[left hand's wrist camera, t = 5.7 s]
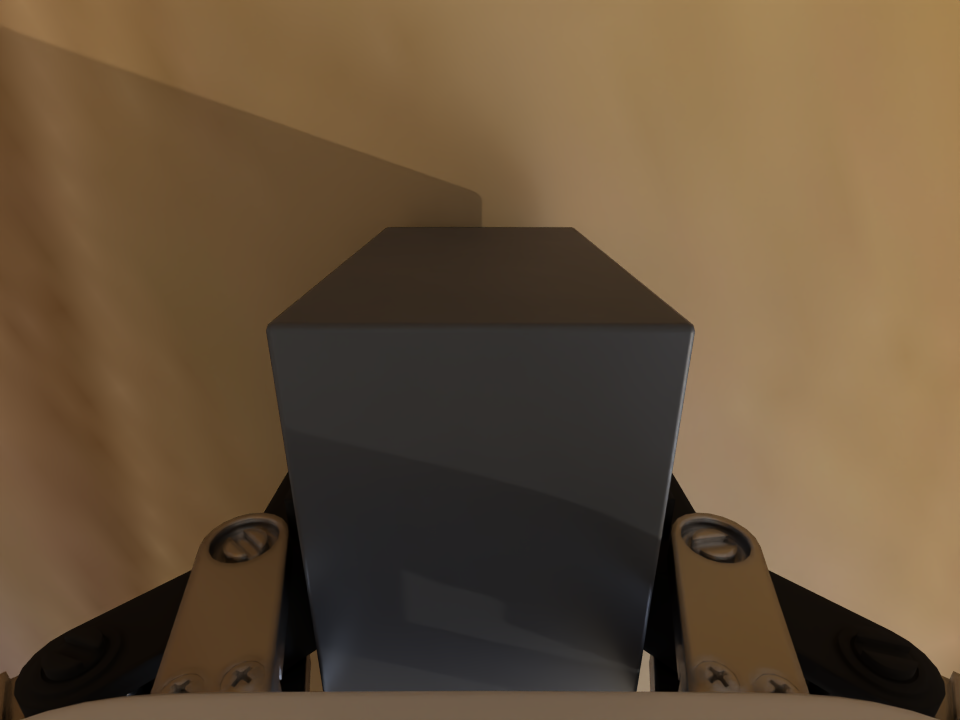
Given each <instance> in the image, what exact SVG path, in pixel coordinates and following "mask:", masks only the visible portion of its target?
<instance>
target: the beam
mask: <svg viewBox="0 0 960 720" xmlns="http://www.w3.org/2000/svg"><path fill="white" fill-rule="evenodd" d="M266 333H267V339H268V345H269V352H270V358H271V364H272V370H273V377H274V383H275V389H276V396H277V402H278V408H279V415H280V421H281V427H282V434H283V440H284V446H285V453H286V459H287V465H288V472H289V478H290V484H291V491H292V497H293V503H294V509H295V516H296V522H297V528H298V535H299V541H300V547H301V554H302V560H303V566H304V573H305V579H306V585H307V592H308V598H309V604H310V611H311V617H312V623H313V630H314V636H315V642H316V649H317V655H318V661H319V667H320V674H321V680H322V686H323V692H372V691H588V692H636V691H637V685H638V679H639V673H640V667H641V661H642V654H643V648H644V642H645V636H646V630H647V624H648V617H649V611H650V605H651V599H652V593H653V587H654V580H655V574H656V568H657V562H658V556H659V550H660V543H661V537H662V531H663V525H664V519H665V513H666V506H667V500H668V494H669V488H670V482H671V476H672V469H673V463H674V457H675V451H676V445H677V439H678V432H679V426H680V420H681V414H682V408H683V402H684V395H685V389H686V383H687V377H688V371H689V365H690V358H691V352H692V346H693V340H694V334H695V330H694V326H693V324H691V323H690V322H689V321H688V320H686V319H685V318H684V317H683V316H682V315H680V314H679V313H678V312H677V311H675V310H674V309H673V308H672V307H670V306H669V305H668V304H667V303H666V302H664V301H663V300H662V299H661V298H659V297H658V296H657V295H656V294H654V293H653V292H652V291H651V290H650V289H648V288H647V287H646V286H645V285H643V284H642V283H641V282H640V281H638V280H637V279H636V278H635V277H633V276H632V275H631V274H630V273H629V272H627V271H626V270H625V269H624V268H622V267H621V266H620V265H619V264H617V263H616V262H615V261H614V260H613V259H611V258H610V257H609V256H608V255H606V254H605V253H604V252H603V251H601V250H600V249H599V248H598V247H597V246H595V245H594V244H593V243H592V242H590V241H589V240H588V239H587V238H585V237H584V236H583V235H582V234H581V233H579V232H578V231H577V230H576V229H574V228H572V227H388V228H385V229H384V230H383V231H382V232H381V233H379V234H378V235H377V236H376V237H374V238H373V239H372V240H371V241H370V242H368V243H367V244H366V245H365V246H363V247H362V248H361V249H360V250H358V251H357V252H356V253H355V254H354V255H352V256H351V257H350V258H349V259H347V260H346V261H345V262H344V263H343V264H341V265H340V266H339V267H338V268H336V269H335V270H334V271H333V272H332V273H330V274H329V275H328V276H327V277H325V278H324V279H323V280H322V281H321V282H319V283H318V284H317V285H316V286H314V287H313V288H312V289H311V290H310V291H308V292H307V293H306V294H305V295H303V296H302V297H301V298H300V299H298V300H297V301H296V302H295V303H294V304H292V305H291V306H290V307H289V308H287V309H286V310H285V311H284V312H283V313H281V314H280V315H279V316H278V317H276V318H275V319H274V320H273V321H272V322H270V323H269V324H268V326H267V329H266Z"/></svg>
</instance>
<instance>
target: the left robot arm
mask: <svg viewBox="0 0 960 720" xmlns="http://www.w3.org/2000/svg"><path fill="white" fill-rule="evenodd" d="M315 650H317V649H316V642H315V636H314V630H313V623H312V617H311V611H310V604H309V598H308V592H307V585H306V579H305V573H304V566H303V560H302V554H301V547H300V541H299V535H298V528H297V522H296V516H295V509H294V503H293V497H292V491H291V484H290V478H289V472H288V473H287V475H286V476H285V478H284V480H283V481H282V483H281V485H280V486H279V488H278V490H277V491H276V493H275V495H274V496H273V498H272V500H271V501H270V503H269V505H268V507H267V508H266V510H265V512H264V513H252V514H247V515H243V516H238V517H236V518H233V519H231V520H228V521H226V522H224V523H222V524H221V525H219V526H218V527H216V528H215V529H213V530H212V531H211V532H210V533H209V534H208V535H207V536H206V537H205V538H204V540H203V542H202V543H201V545H200V547H199V550H198V553H197V556H196V559H195V562H194V565H193V568H192V570H191V571H189V572H187V573H185V574H183V575H181V576H179V577H177V578H175V579H173V580H170V581H168V582H166V583H164V584H162V585H160V586H158V587H156V588H154V589H152V590H150V591H148V592H146V593H144V594H142V595H140V596H138V597H136V598H134V599H132V600H130V601H128V602H126V603H124V604H122V605H120V606H118V607H116V608H114V609H112V610H110V611H108V612H106V613H104V614H102V615H100V616H98V617H96V618H94V619H92V620H90V621H88V622H86V623H84V624H82V625H80V626H78V627H76V628H74V629H71V630H69V631H68V632H66V633H64V634H62V635H61V636H59V637H57V638H56V639H54V640H52V641H51V642H49V643H48V644H47V645H46V646H44V647H43V648H42V649H41V650H39V651H38V652H37V653H36V654H34V656H33V657H32V658H31V659H30V660H29V661H28V662H27V664H26V665H25V666H24V667H23V668H22V670H21V672H20V674H19V676H16V677H14V678H12V679H9V676H8V674H7V672H3V673H1V674H0V720H960V674H959V673H956V672H954V671H953V673H952V675H951V677H950V679H948V678H946V677H944V676H941V675H940V673H939V671H938V669H937V667H936V666H935V665H934V664H933V663H932V662H931V661H930V659H929V658H928V657H927V656H926V655H925V654H924V653H923V652H922V651H920V650H919V649H918V648H917V647H915V646H914V645H913V644H912V643H910V642H909V641H907V640H906V639H904V638H902V637H901V636H899V635H897V634H896V633H894V632H892V631H890V630H888V629H886V628H884V627H882V626H880V625H878V624H876V623H874V622H872V621H870V620H868V619H866V618H864V617H862V616H860V615H858V614H856V613H854V612H852V611H850V610H848V609H846V608H844V607H842V606H840V605H838V604H836V603H834V602H832V601H830V600H828V599H826V598H824V597H822V596H819V595H817V594H815V593H813V592H811V591H809V590H807V589H805V588H803V587H801V586H799V585H797V584H795V583H793V582H791V581H789V580H787V579H785V578H783V577H781V576H779V575H777V574H775V573H773V572H771V571H769V570H768V568H767V565H766V562H765V559H764V556H763V553H762V550H761V547H760V545H759V543H758V542H757V540H756V538H755V537H754V536H753V535H752V534H751V533H750V532H749V531H748V530H747V529H745V528H744V527H742V526H741V525H739V524H738V523H736V522H734V521H732V520H729V519H727V518H724V517H722V516H717V515H713V514H708V513H696V512H695V511H694V509H693V507H692V506H691V504H690V502H689V501H688V499H687V497H686V495H685V494H684V492H683V490H682V489H681V487H680V485H679V484H678V482H677V480H676V479H675V477H674V475H673V474H672V476H671V482H670V488H669V494H668V500H667V506H666V513H665V519H664V525H663V531H662V537H661V543H660V550H659V556H658V562H657V568H656V574H655V580H654V587H653V593H652V599H651V605H650V611H649V617H648V624H647V630H646V636H645V642H644V648H643V650H645V651H646V652H648V653H649V654H650V661H649V670H650V692H588V691H372V692H310V670H311V661H310V653H312V652H313V651H315Z"/></svg>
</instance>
